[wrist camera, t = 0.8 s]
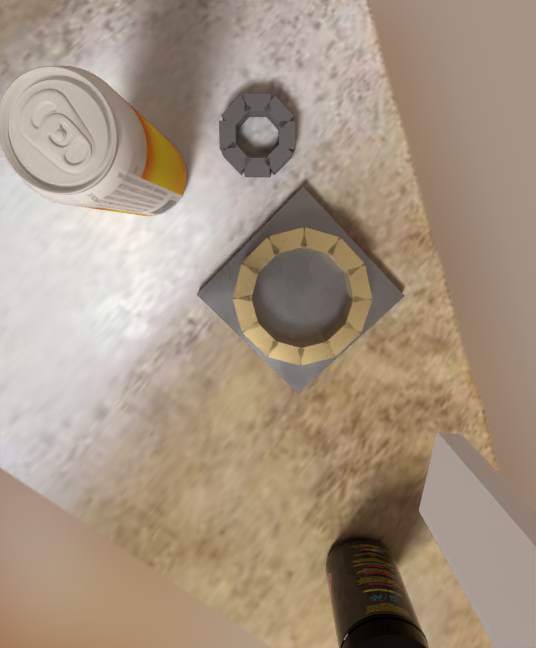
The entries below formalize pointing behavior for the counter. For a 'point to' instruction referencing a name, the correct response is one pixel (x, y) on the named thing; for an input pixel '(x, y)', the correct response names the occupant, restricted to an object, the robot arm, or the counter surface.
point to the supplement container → (370, 598)
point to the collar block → (300, 291)
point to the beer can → (87, 144)
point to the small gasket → (257, 108)
